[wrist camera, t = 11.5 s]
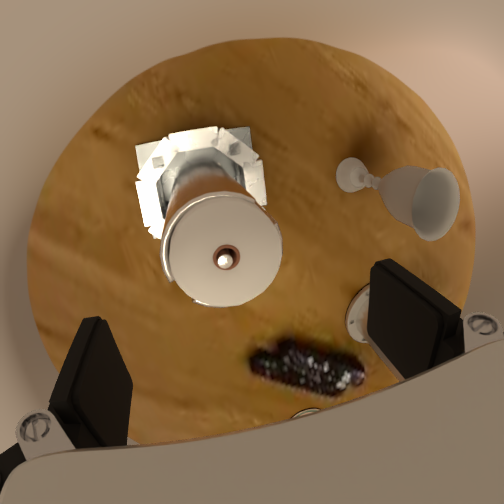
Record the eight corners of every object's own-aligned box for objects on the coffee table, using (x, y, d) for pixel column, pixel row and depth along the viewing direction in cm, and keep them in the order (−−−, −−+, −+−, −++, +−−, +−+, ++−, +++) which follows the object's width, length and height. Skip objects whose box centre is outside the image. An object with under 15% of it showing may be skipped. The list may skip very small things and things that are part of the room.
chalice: (335, 145, 41) (421, 159, 24) (375, 155, 43) (465, 176, 26) (325, 196, 43) (403, 237, 27) (366, 203, 45) (449, 244, 29)
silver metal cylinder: (168, 164, 37) (140, 217, 14) (220, 151, 37) (276, 180, 15) (182, 214, 39) (181, 331, 16) (232, 201, 40) (298, 298, 17)
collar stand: (247, 122, 38) (262, 120, 30) (259, 220, 43) (275, 240, 35) (136, 141, 36) (123, 143, 28) (155, 239, 41) (149, 263, 33)
